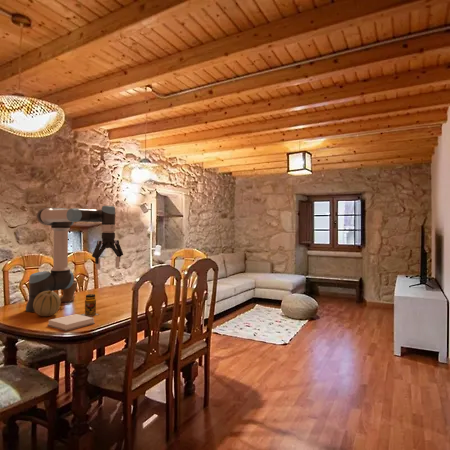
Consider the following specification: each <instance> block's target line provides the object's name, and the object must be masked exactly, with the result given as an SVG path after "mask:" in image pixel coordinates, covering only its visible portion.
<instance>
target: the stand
mask: <svg viewBox="0 0 450 450" xmlns="http://www.w3.org/2000/svg"><path fill="white" fill-rule="evenodd" d="M94 324H95V318H94V317H92V316H90V317H87V316H83V315H81V314H77V313H75V314H70V315H66V316H61V317H56V318H52V319H48V324H47V327H51V328H54V329H58V330H60V331H65V332H67V331H72V330H75V329H80V328H83V327H86V326H90V325H94Z"/></svg>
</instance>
